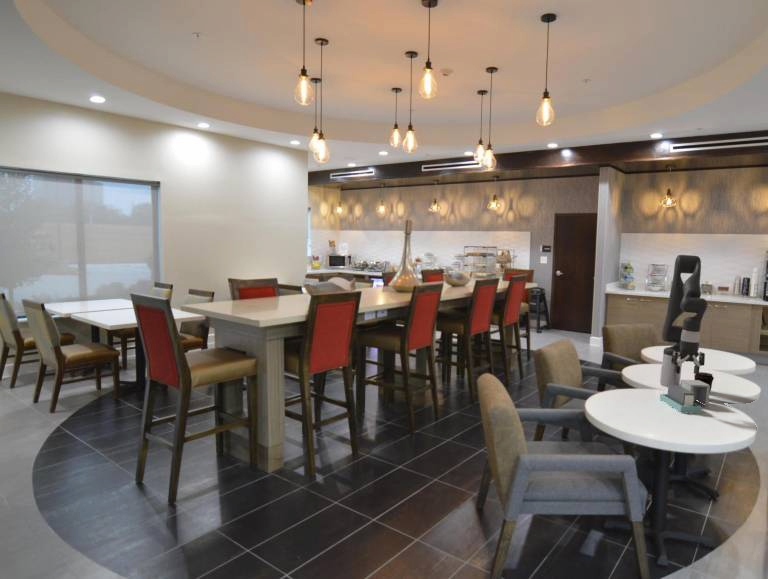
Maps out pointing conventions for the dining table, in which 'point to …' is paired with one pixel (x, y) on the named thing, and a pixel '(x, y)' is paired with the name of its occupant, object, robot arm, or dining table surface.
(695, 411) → the tray
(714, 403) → the dining table surface
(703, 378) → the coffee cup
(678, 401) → the tall grey pillar
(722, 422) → the dining table surface
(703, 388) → the light grey block
